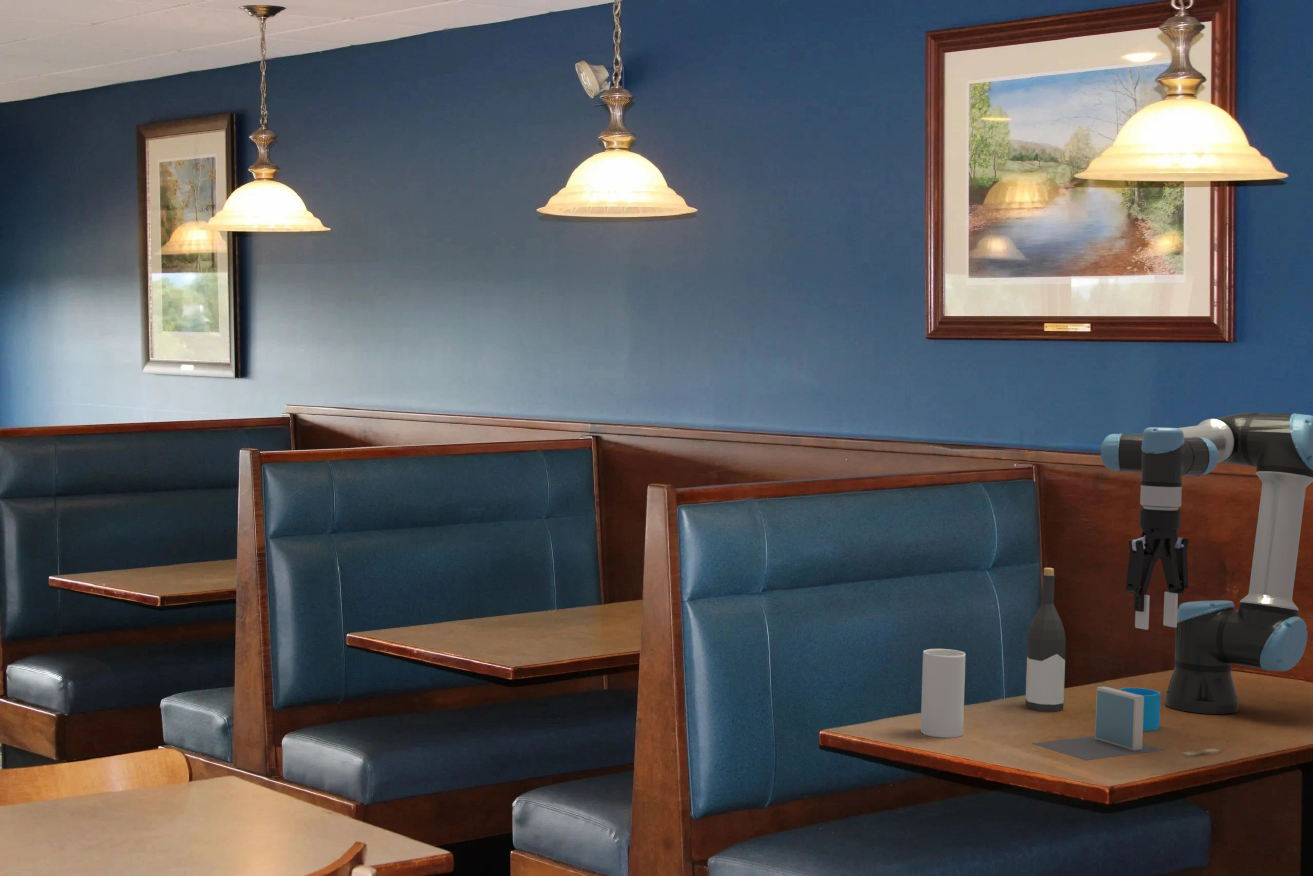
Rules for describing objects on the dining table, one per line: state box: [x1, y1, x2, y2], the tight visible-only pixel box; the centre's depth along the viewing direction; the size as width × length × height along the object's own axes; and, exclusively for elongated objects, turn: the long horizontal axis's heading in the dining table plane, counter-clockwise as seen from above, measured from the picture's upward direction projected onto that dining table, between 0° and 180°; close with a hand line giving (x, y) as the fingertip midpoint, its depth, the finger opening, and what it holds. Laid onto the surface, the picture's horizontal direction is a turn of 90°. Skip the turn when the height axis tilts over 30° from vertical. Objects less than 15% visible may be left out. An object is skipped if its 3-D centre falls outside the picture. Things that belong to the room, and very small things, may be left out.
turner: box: [1182, 748, 1222, 758], centre depth 289 cm, size 16×6×2 cm, turn 118°
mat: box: [1032, 735, 1165, 761], centre depth 295 cm, size 20×14×1 cm
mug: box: [1118, 687, 1162, 732], centre depth 315 cm, size 12×8×8 cm
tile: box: [1094, 686, 1144, 750], centre depth 297 cm, size 2×10×10 cm, turn 29°
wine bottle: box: [1025, 567, 1067, 713], centre depth 334 cm, size 8×8×30 cm
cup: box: [920, 648, 966, 739], centre depth 308 cm, size 8×8×16 cm
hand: (1155, 627), depth 300 cm, fingers open, 7 cm apart
